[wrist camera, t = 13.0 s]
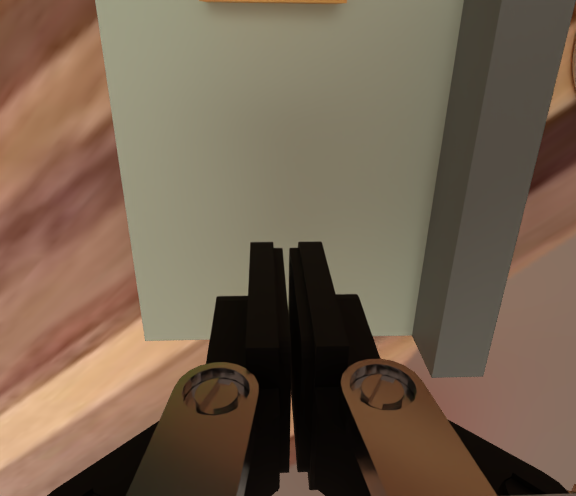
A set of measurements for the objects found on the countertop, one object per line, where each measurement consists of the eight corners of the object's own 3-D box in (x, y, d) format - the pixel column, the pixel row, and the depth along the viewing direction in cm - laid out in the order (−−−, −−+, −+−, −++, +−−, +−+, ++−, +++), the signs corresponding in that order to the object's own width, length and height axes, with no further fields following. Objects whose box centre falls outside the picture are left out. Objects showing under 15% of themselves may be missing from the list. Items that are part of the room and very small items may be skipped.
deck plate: (514, -39, 24) (588, -53, 18) (446, 316, 33) (483, 376, 28) (101, -47, 23) (51, -65, 17) (151, 322, 32) (129, 385, 27)
